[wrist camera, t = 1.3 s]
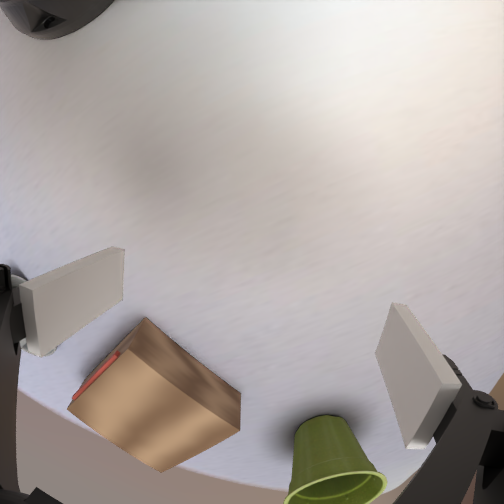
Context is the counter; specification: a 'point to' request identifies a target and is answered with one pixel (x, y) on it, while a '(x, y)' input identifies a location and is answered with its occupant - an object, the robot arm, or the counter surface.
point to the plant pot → (331, 466)
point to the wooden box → (157, 400)
